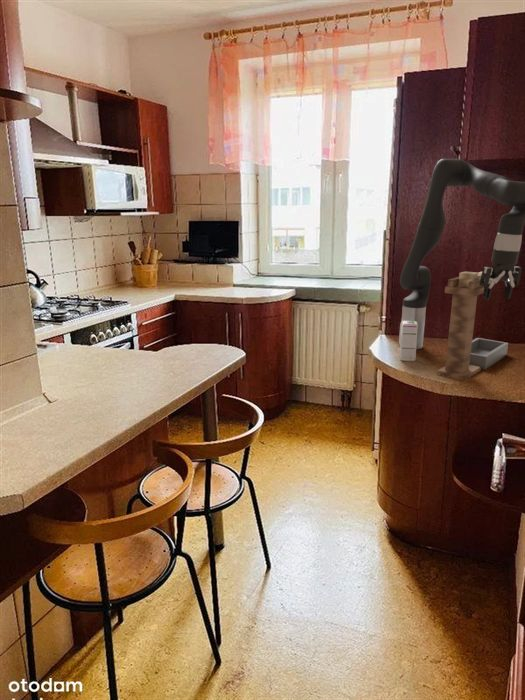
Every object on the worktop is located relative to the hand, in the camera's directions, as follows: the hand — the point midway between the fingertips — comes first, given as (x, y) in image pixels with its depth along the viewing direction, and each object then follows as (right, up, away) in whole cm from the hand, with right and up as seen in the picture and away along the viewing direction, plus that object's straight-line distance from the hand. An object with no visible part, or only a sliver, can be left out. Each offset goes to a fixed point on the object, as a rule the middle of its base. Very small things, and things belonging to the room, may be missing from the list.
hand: (496, 298), depth 164 cm
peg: (-2, +6, +11) cm, 13 cm away
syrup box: (-20, -20, +32) cm, 43 cm away
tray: (+8, -20, +30) cm, 37 cm away
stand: (-6, -25, +16) cm, 30 cm away
